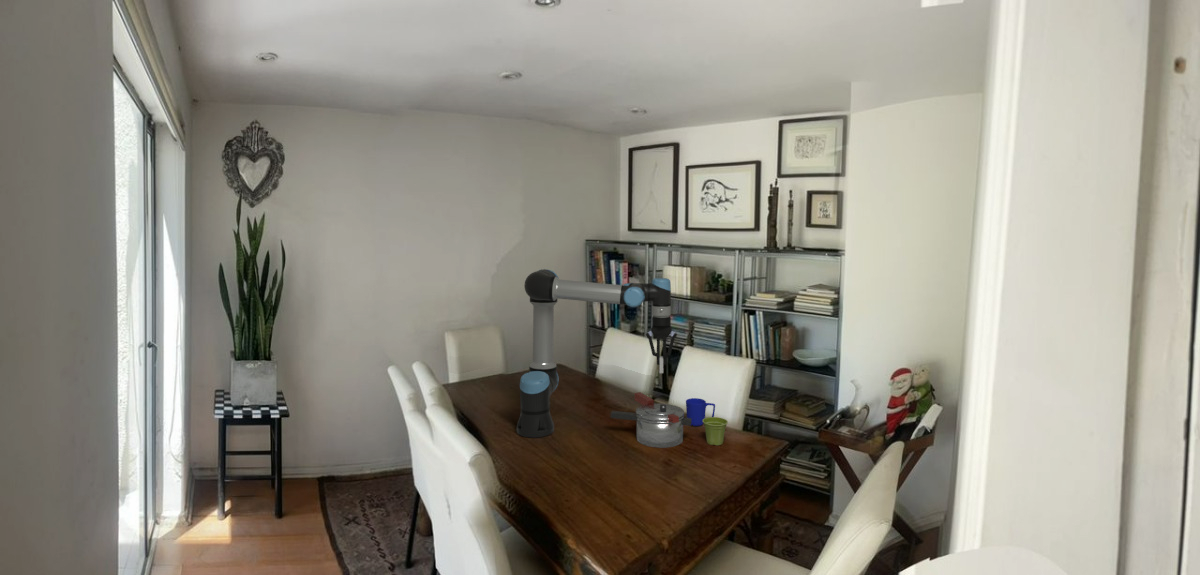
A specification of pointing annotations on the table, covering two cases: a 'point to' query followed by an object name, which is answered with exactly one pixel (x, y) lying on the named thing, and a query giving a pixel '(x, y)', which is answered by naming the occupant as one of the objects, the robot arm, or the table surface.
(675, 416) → the lid
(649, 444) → the pot
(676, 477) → the table surface
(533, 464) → the table surface
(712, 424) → the plant pot
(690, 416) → the mug
